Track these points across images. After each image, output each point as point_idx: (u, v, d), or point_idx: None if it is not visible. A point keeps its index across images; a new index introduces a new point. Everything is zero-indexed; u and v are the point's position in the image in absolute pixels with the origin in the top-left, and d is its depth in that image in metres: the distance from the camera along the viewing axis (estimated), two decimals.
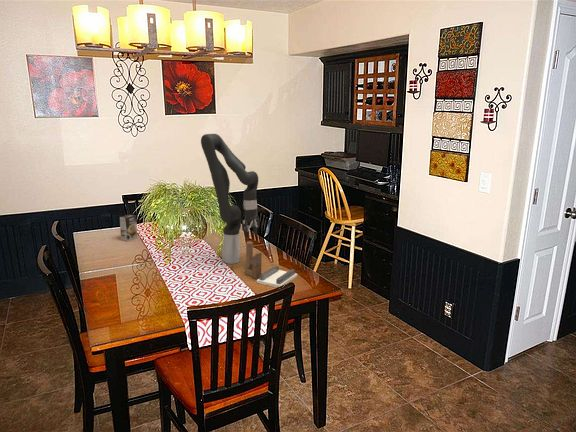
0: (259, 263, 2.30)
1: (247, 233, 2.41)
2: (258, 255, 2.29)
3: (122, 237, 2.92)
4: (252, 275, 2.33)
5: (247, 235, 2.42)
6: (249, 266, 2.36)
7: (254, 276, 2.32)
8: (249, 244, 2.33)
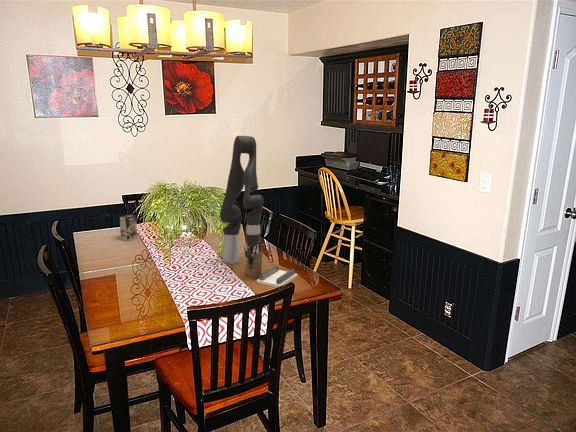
0: (259, 263, 2.30)
1: (251, 260, 2.31)
2: (258, 255, 2.29)
3: (122, 237, 2.92)
4: (252, 275, 2.33)
5: (250, 262, 2.31)
6: (249, 266, 2.36)
7: (254, 276, 2.32)
8: None
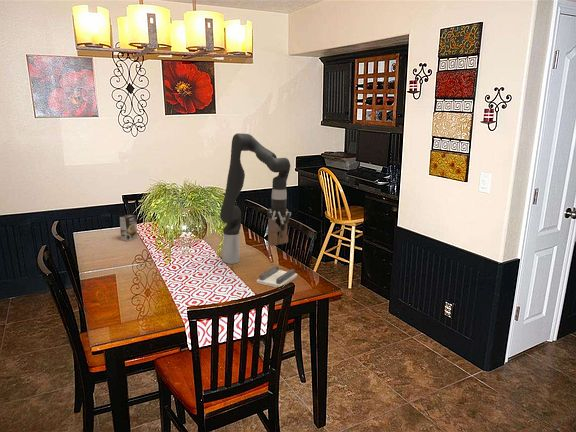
0: (270, 229, 2.21)
1: None
2: (270, 220, 2.21)
3: (122, 237, 2.92)
4: None
5: None
6: (280, 233, 2.28)
7: None
8: None
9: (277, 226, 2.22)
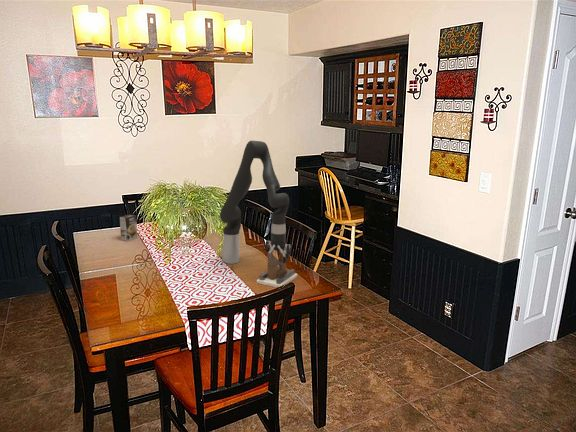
0: (270, 263, 2.26)
1: None
2: (269, 255, 2.25)
3: (122, 237, 2.92)
4: None
5: None
6: (279, 266, 2.32)
7: None
8: None
9: (276, 260, 2.26)
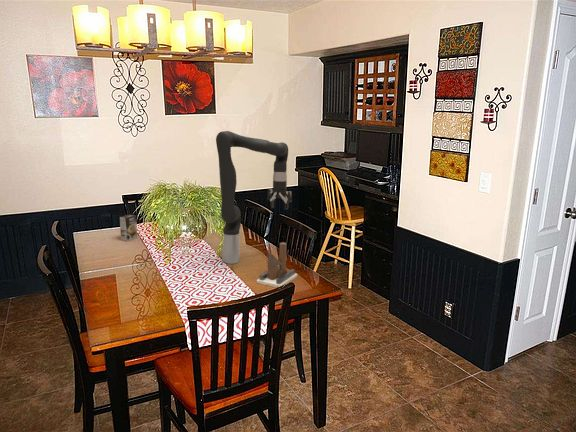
0: (270, 264, 2.25)
1: (271, 203, 2.43)
2: (269, 255, 2.25)
3: (122, 237, 2.92)
4: None
5: (271, 205, 2.44)
6: (279, 266, 2.32)
7: None
8: None
9: (276, 260, 2.26)
